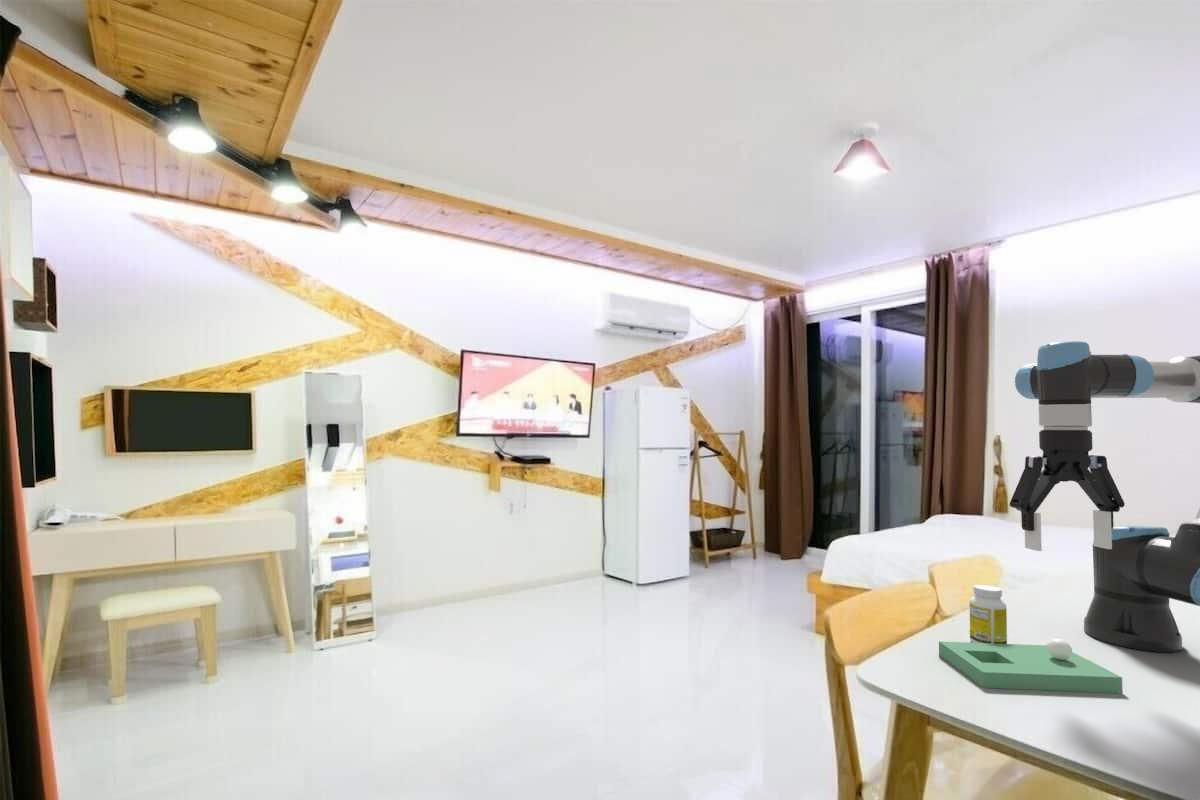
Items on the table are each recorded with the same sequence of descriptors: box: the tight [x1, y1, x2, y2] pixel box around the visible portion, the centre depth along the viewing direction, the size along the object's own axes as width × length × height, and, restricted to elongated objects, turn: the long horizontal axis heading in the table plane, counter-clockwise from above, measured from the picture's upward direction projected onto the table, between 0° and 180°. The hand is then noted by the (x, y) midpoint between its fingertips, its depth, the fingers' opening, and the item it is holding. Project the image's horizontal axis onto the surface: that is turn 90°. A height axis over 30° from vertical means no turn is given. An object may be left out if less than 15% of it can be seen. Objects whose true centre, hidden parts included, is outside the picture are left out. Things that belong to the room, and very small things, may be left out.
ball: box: [1047, 638, 1073, 660], centre depth 105 cm, size 4×4×4 cm
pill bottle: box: [969, 584, 1008, 644], centre depth 119 cm, size 6×6×11 cm
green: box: [938, 641, 1123, 694], centre depth 105 cm, size 22×14×2 cm, turn 87°
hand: (1068, 548), depth 107 cm, fingers open, 13 cm apart
